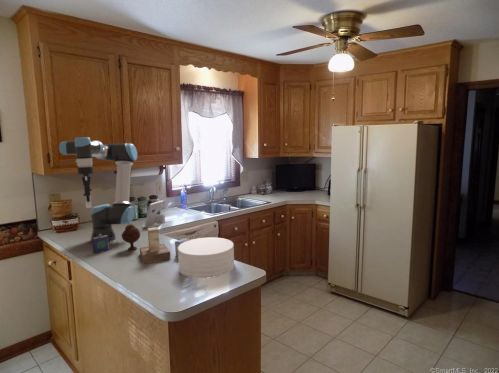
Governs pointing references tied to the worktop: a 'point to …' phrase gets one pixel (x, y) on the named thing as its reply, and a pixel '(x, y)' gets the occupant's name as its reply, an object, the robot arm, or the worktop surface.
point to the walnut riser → (154, 254)
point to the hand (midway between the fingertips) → (88, 205)
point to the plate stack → (206, 257)
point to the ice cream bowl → (131, 236)
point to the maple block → (153, 239)
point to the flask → (100, 244)
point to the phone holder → (154, 215)
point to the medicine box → (179, 244)
